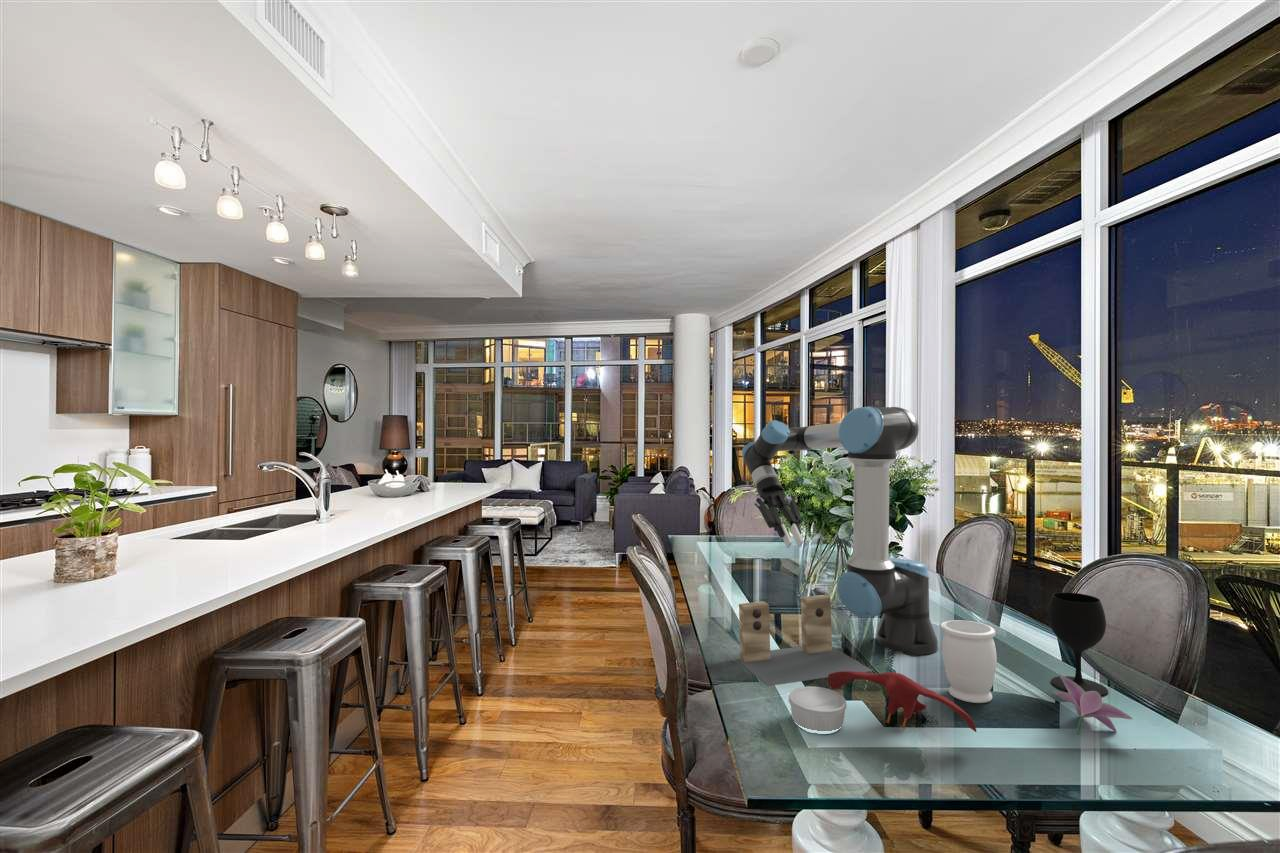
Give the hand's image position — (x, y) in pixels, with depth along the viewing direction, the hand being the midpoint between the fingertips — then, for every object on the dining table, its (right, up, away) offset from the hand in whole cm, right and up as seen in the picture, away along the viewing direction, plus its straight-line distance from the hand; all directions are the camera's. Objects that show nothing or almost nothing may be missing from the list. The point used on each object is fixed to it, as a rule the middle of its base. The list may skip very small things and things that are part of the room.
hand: (795, 544), depth 171 cm
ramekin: (-9, -26, -52) cm, 59 cm away
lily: (+42, -24, -57) cm, 75 cm away
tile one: (+2, -25, -14) cm, 29 cm away
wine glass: (+54, -24, -38) cm, 70 cm away
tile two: (-15, -26, -19) cm, 35 cm away
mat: (-5, -26, -22) cm, 34 cm away
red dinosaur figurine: (+7, -25, -53) cm, 59 cm away
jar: (+28, -25, -41) cm, 55 cm away
